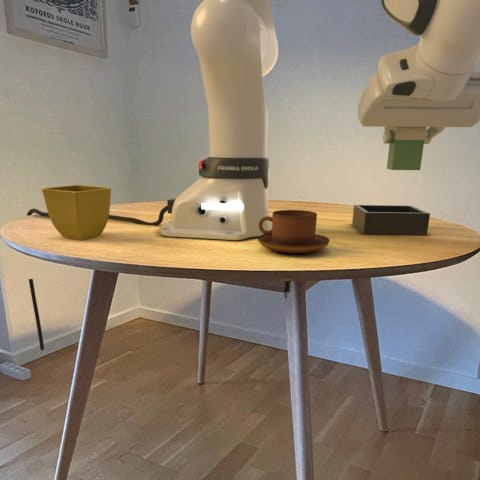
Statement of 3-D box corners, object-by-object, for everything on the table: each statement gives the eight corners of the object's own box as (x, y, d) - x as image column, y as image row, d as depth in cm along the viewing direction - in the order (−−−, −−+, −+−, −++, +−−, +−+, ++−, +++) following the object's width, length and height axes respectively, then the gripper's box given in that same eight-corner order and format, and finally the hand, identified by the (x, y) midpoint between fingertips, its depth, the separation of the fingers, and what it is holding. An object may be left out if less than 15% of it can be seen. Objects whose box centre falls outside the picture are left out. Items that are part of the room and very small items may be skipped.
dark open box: (363, 234, 93) (365, 212, 92) (352, 224, 104) (354, 204, 102) (426, 235, 93) (430, 213, 91) (409, 225, 104) (411, 205, 102)
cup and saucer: (258, 257, 74) (259, 218, 72) (256, 242, 85) (257, 207, 83) (334, 258, 74) (337, 219, 72) (322, 242, 85) (324, 208, 83)
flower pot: (116, 235, 90) (112, 187, 86) (82, 243, 82) (76, 191, 79) (82, 231, 94) (77, 184, 90) (47, 238, 86) (40, 188, 83)
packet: (391, 170, 82) (398, 114, 79) (386, 168, 86) (392, 115, 83) (420, 170, 82) (428, 114, 79) (414, 169, 86) (421, 115, 82)
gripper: (500, 58, 72) (457, 128, 85) (370, 56, 71) (347, 127, 84) (511, 87, 70) (465, 155, 82) (376, 85, 68) (351, 154, 81)
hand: (405, 141), depth 83 cm, fingers closed on packet, 5 cm apart
